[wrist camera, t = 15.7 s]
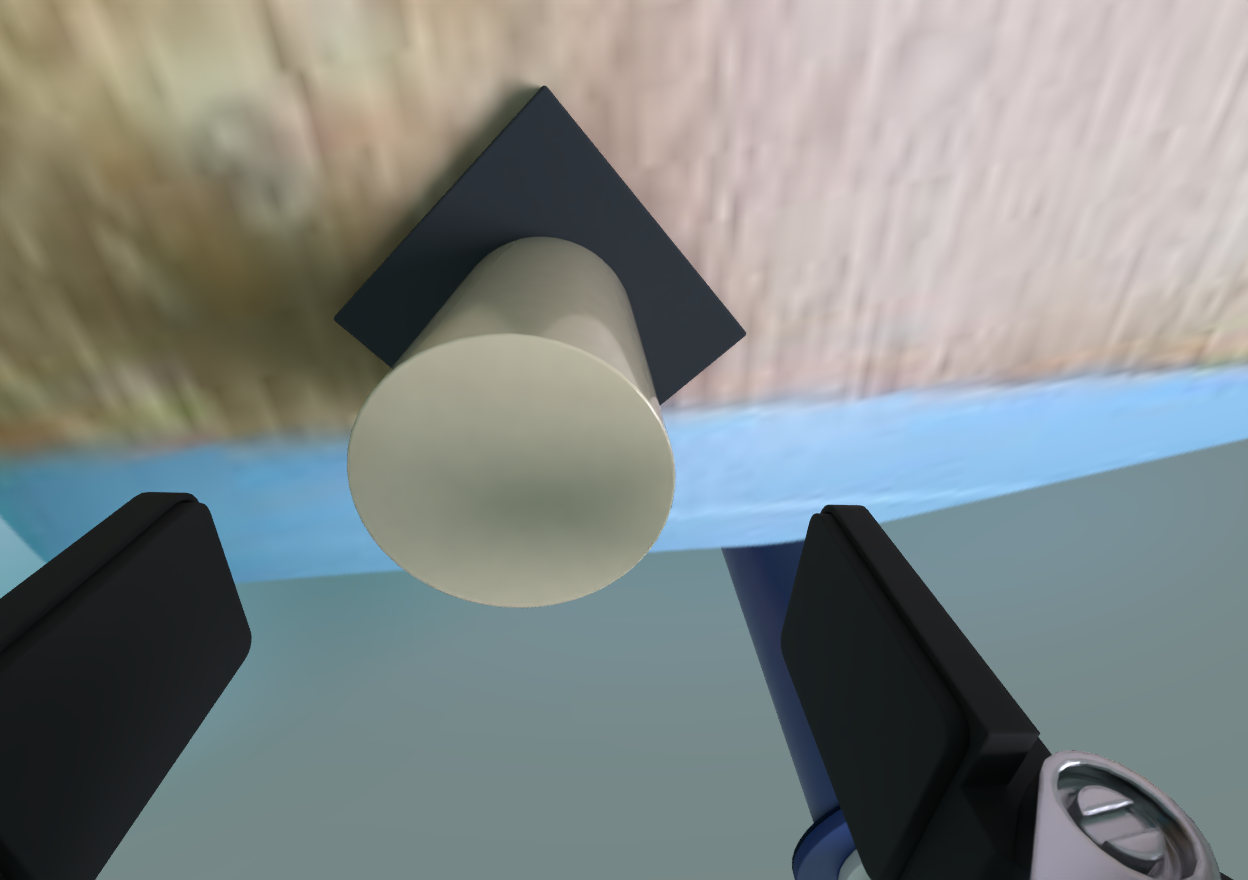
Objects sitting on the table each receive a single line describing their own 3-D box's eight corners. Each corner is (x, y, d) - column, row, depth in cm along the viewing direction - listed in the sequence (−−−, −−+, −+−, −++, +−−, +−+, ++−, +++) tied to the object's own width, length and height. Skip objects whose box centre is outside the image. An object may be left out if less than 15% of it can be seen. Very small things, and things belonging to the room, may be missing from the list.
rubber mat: (742, 327, 20) (747, 334, 20) (548, 487, 23) (547, 498, 22) (546, 85, 16) (544, 83, 16) (340, 312, 19) (331, 319, 19)
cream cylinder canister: (448, 231, 17) (313, 326, 9) (639, 240, 18) (694, 340, 9) (466, 441, 21) (384, 660, 12) (625, 444, 22) (655, 656, 13)
